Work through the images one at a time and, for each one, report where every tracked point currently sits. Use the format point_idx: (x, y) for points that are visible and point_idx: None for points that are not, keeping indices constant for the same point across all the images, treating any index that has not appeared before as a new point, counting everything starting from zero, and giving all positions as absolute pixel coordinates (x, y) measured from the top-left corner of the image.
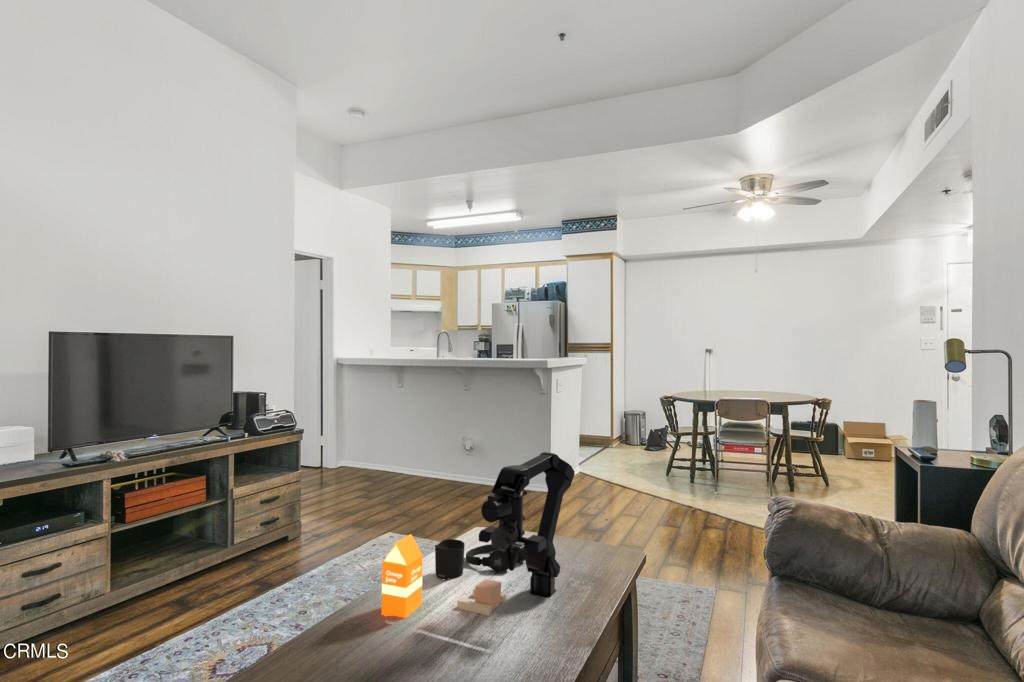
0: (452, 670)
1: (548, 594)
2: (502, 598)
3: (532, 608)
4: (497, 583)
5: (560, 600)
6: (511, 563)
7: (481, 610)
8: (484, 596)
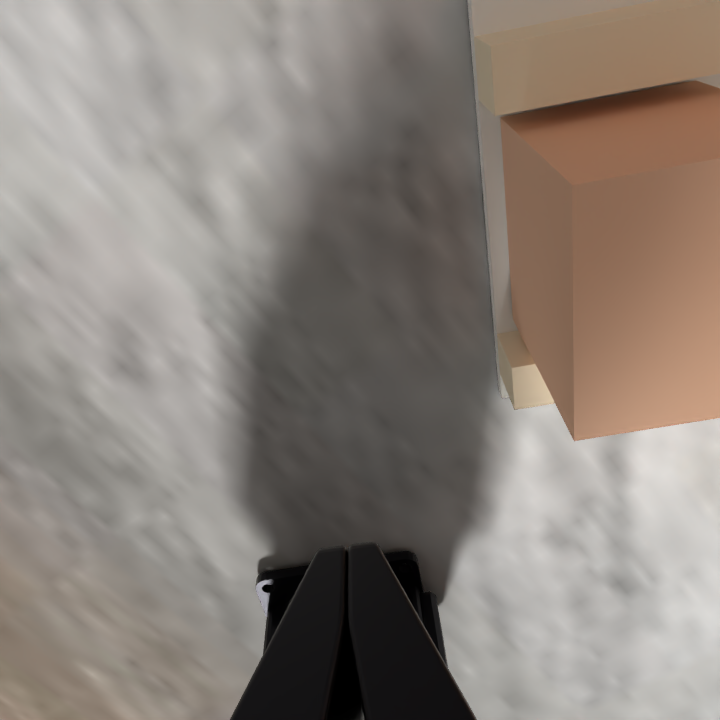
0: None
1: (280, 610)
2: (513, 354)
3: (261, 422)
4: (595, 390)
5: (194, 605)
6: (306, 676)
7: (578, 23)
8: (636, 136)
